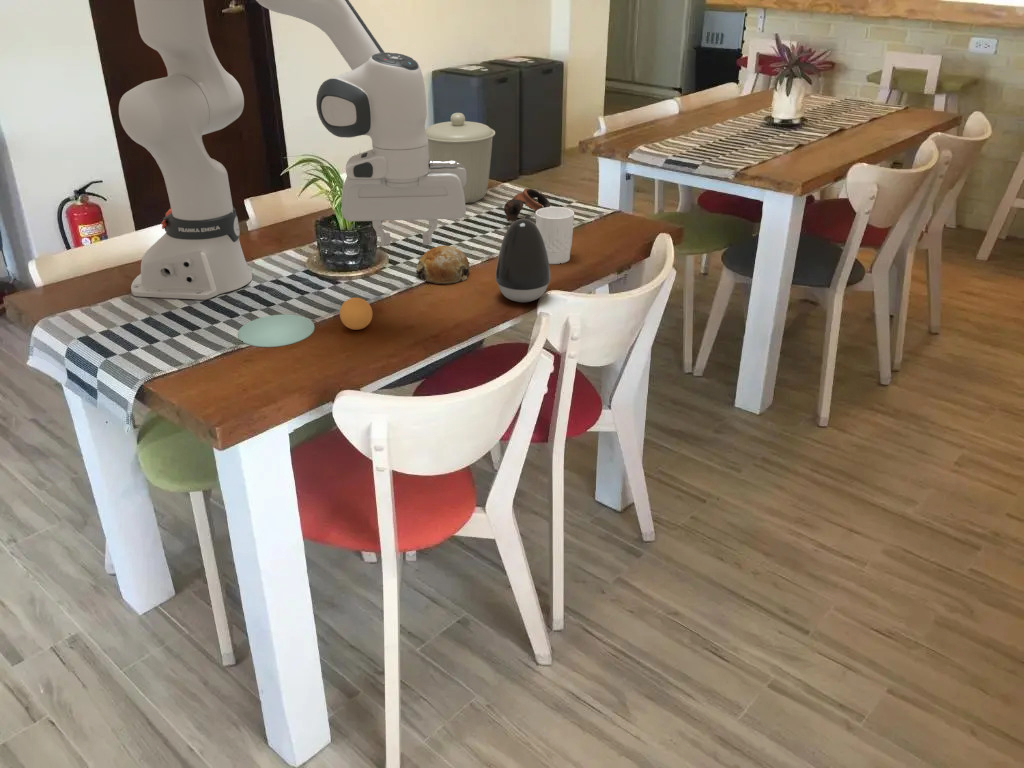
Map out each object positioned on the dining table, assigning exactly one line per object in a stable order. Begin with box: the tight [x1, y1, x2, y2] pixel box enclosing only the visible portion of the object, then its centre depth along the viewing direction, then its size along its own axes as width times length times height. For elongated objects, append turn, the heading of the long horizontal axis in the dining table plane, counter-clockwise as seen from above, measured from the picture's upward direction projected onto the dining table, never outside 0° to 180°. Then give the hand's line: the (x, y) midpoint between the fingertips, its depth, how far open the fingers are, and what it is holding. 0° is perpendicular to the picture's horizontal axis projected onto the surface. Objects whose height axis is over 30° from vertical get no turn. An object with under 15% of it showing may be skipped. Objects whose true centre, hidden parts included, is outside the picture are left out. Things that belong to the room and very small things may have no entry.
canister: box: [425, 112, 496, 204], centre depth 217 cm, size 18×18×21 cm
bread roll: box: [415, 245, 470, 285], centre depth 175 cm, size 10×10×8 cm
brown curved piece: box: [503, 187, 551, 222], centre depth 205 cm, size 12×10×8 cm
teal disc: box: [237, 314, 315, 348], centre depth 153 cm, size 13×13×1 cm
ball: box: [339, 297, 373, 331], centre depth 153 cm, size 6×6×6 cm
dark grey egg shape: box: [495, 214, 551, 303], centre depth 162 cm, size 10×10×15 cm
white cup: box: [535, 206, 575, 265], centre depth 182 cm, size 8×8×10 cm
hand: (406, 244), depth 147 cm, fingers open, 5 cm apart
